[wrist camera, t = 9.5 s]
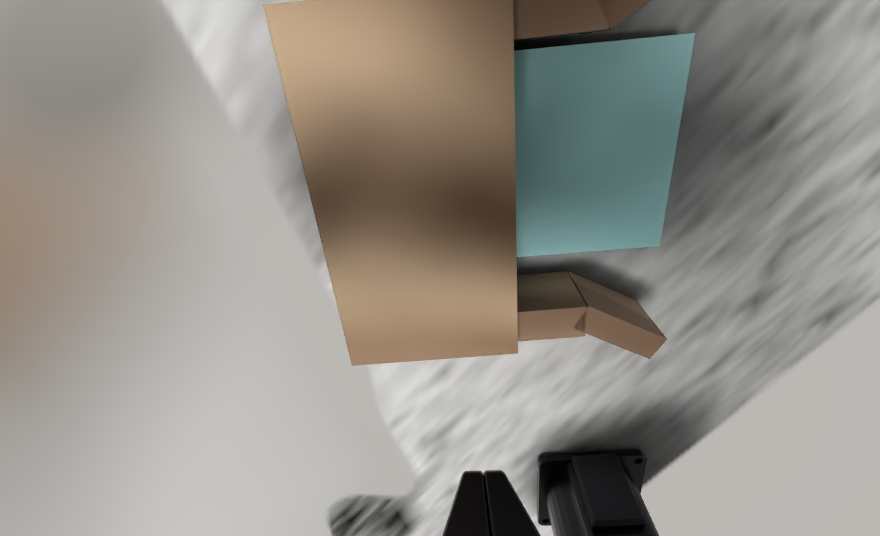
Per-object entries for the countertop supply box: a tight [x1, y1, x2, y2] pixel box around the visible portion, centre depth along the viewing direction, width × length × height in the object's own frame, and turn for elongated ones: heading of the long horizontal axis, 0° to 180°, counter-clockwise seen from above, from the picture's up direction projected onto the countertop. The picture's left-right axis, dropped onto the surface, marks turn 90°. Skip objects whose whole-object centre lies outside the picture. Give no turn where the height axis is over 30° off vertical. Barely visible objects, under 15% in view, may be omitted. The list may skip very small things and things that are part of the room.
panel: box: [514, 33, 695, 257], centre depth 17 cm, size 8×12×2 cm, turn 95°
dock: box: [263, 0, 667, 365], centre depth 16 cm, size 16×14×4 cm
